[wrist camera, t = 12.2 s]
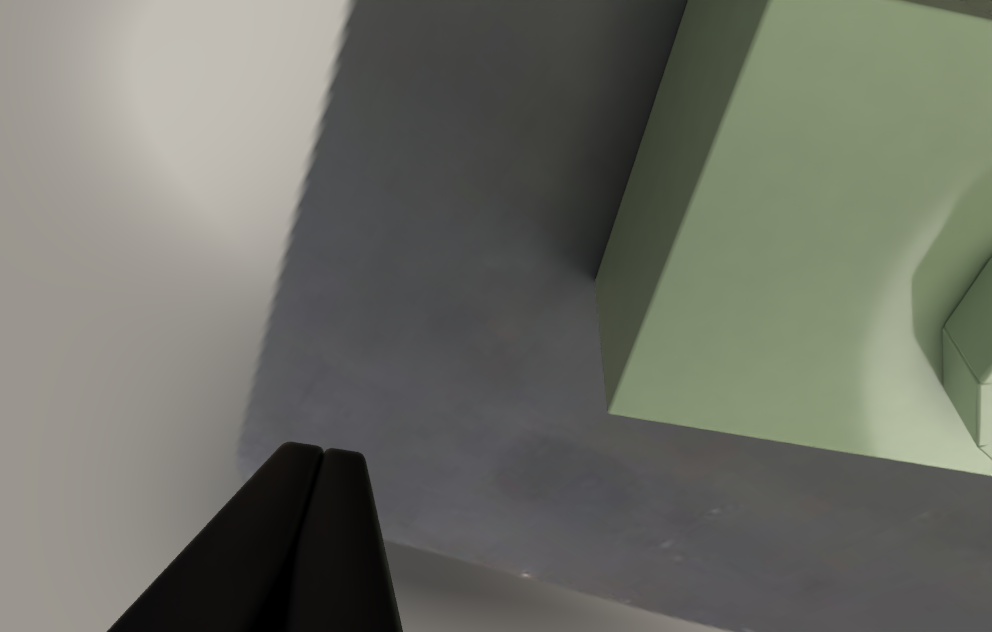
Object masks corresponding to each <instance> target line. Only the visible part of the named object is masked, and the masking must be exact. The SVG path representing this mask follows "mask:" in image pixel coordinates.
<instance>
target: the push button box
mask: <svg viewBox="0 0 992 632" xmlns="http://www.w3.org/2000/svg"><path fill="white" fill-rule="evenodd" d="M595 293H596V303H597V313H598V323H599V333H600V342H601V352H602V362H603V372H604V382H605V392H606V402H607V411H608V413H609V414H613V415H619V416H625V417H631V418H637V419H643V420H649V421H656V422H662V423H668V424H674V425H680V426H686V427H692V428H699V429H705V430H711V431H717V432H723V433H729V434H735V435H741V436H748V437H754V438H760V439H766V440H772V441H778V442H784V443H790V444H797V445H803V446H809V447H815V448H821V449H827V450H833V451H839V452H846V453H852V454H858V455H864V456H870V457H876V458H882V459H888V460H895V461H901V462H907V463H913V464H919V465H925V466H931V467H937V468H944V469H950V470H956V471H962V472H968V473H974V474H980V475H987V476H992V0H688V2H687V5H686V8H685V11H684V14H683V17H682V20H681V23H680V26H679V29H678V32H677V35H676V38H675V41H674V44H673V47H672V50H671V53H670V56H669V59H668V62H667V65H666V68H665V71H664V74H663V77H662V80H661V83H660V86H659V89H658V92H657V95H656V98H655V101H654V104H653V108H652V111H651V114H650V117H649V120H648V123H647V126H646V129H645V132H644V135H643V138H642V141H641V144H640V147H639V150H638V153H637V156H636V159H635V162H634V165H633V168H632V171H631V174H630V177H629V180H628V183H627V186H626V189H625V192H624V195H623V198H622V201H621V204H620V207H619V210H618V213H617V216H616V219H615V222H614V225H613V228H612V232H611V235H610V238H609V241H608V244H607V247H606V250H605V253H604V256H603V259H602V262H601V265H600V268H599V271H598V274H597V277H596V280H595Z"/></svg>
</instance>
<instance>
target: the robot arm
mask: <svg viewBox="0 0 992 632" xmlns="http://www.w3.org/2000/svg"><path fill="white" fill-rule="evenodd" d="M107 632H403V630H402V626H401V621H400V616H399V612H398V607H397V602H396V598H395V593H394V589H393V585H392V579H391V575H390V571H389V565H388V561H387V556H386V552H385V547H384V542H383V538H382V533H381V529H380V524H379V520H378V515H377V510H376V506H375V501H374V497H373V492H372V487H371V483H370V478H369V474H368V469H367V464H366V460H365V458H364V456H363V454H361V453H359V452H354V451H348V450H342V449H335V448H329V449H327V450H326V451H325V452H324V451H323V449H322V448H321V447H319V446H316V445H310V444H303V443H297V442H286V443H284V444H282V445H281V446H280V447H279V448H278V449H277V450H276V451H275V452H274V453H273V454H272V455H271V456H270V458H269V459H268V460H267V461H266V462H265V463H264V464H263V465H262V466H261V467H260V468H259V469H258V470H257V471H256V473H255V474H254V475H253V476H252V477H251V478H250V479H249V480H248V481H247V482H246V483H245V484H244V485H243V486H242V487H241V489H240V490H239V491H238V492H237V493H236V494H235V495H234V496H233V497H232V498H231V499H230V500H229V501H228V503H227V504H226V505H225V506H224V507H223V508H222V509H221V510H220V511H219V512H218V513H217V514H216V515H215V516H214V517H213V518H212V520H211V521H210V522H209V523H208V524H207V525H206V526H205V527H204V528H203V529H202V530H201V531H200V532H199V534H198V535H197V536H196V537H195V538H194V539H193V540H192V541H191V542H190V543H189V544H188V545H187V546H186V547H185V548H184V550H183V551H182V552H181V553H180V554H179V555H178V556H177V557H176V558H175V559H174V560H173V561H172V562H171V563H170V565H169V566H168V567H167V568H166V569H165V570H164V571H163V572H162V573H161V574H160V575H159V576H158V577H157V578H156V579H155V580H154V582H153V583H152V584H151V585H150V586H149V587H148V588H147V589H146V590H145V591H144V592H143V593H142V594H141V595H140V597H139V598H138V599H137V600H136V601H135V602H134V603H133V604H132V605H131V606H130V607H129V608H128V609H127V610H126V611H125V613H124V614H123V615H122V616H121V617H120V618H119V619H118V620H117V621H116V622H115V623H114V624H113V625H112V627H111V628H110V629H109V630H108V631H107Z"/></svg>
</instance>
